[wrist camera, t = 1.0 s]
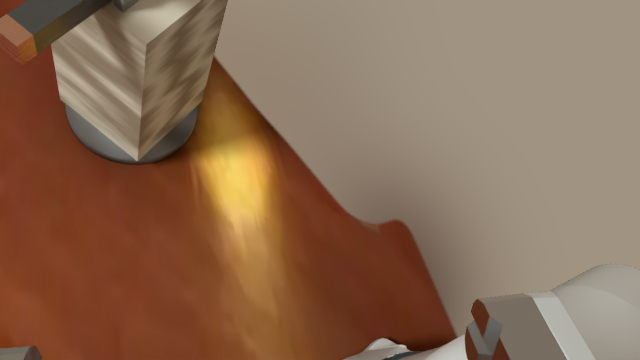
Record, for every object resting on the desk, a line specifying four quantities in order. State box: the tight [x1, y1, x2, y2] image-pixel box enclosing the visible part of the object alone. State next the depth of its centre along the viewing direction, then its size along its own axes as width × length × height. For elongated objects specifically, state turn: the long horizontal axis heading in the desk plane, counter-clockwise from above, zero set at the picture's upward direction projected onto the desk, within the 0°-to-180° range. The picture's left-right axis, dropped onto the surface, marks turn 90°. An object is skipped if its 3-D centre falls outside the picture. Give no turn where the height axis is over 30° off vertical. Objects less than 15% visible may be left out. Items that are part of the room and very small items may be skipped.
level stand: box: [51, 0, 228, 165], centre depth 62 cm, size 16×16×29 cm
